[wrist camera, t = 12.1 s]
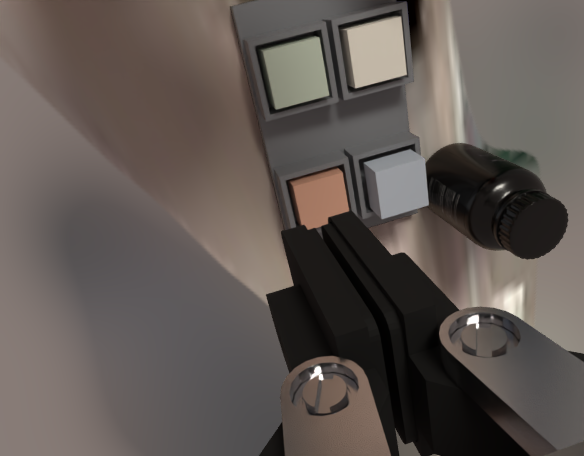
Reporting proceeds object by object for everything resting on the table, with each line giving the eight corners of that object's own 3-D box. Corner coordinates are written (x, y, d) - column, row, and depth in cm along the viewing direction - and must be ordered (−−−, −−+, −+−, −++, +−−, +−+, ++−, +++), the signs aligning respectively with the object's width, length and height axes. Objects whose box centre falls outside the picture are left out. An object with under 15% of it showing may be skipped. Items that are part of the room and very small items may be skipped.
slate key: (363, 162, 39) (375, 172, 37) (410, 149, 39) (424, 158, 37) (370, 207, 41) (381, 219, 39) (414, 194, 41) (428, 205, 39)
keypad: (230, 6, 35) (235, 6, 32) (386, -31, 36) (406, -34, 33) (288, 245, 44) (297, 263, 41) (411, 207, 46) (429, 222, 43)
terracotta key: (286, 176, 40) (293, 186, 38) (332, 162, 40) (342, 172, 38) (296, 219, 42) (303, 231, 39) (340, 206, 42) (350, 217, 40)
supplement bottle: (460, 220, 47) (545, 284, 37) (403, 198, 45) (476, 259, 34) (497, 155, 45) (599, 203, 35) (440, 128, 43) (530, 171, 32)
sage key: (256, 48, 35) (262, 51, 33) (309, 35, 36) (319, 37, 34) (269, 103, 37) (276, 109, 35) (319, 89, 38) (329, 95, 35)
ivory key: (335, 28, 36) (346, 30, 34) (386, 15, 36) (401, 16, 34) (344, 83, 38) (355, 88, 36) (392, 70, 38) (406, 74, 36)
